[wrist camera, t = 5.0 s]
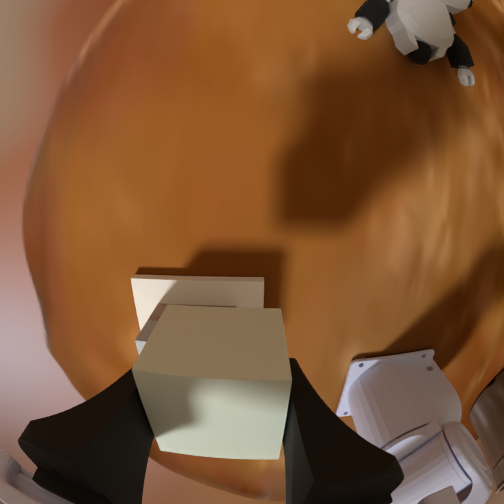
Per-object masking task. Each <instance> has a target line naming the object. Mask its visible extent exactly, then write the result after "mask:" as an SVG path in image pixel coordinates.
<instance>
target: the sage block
mask: <svg viewBox="0 0 504 504" xmlns="http://www.w3.org/2000/svg"><path fill="white" fill-rule="evenodd" d="M132 372H133V376H134V379H135V382H136V385H137V388H138V391H139V394H140V397H141V400H142V403H143V406H144V409H145V412H146V415H147V417H148V420H149V423H150V425H151V428H152V430H153V433H154V435H155V438H156V440H157V443H158V445H159V447H160V450H162V451H168V452H174V453H181V454H188V455H196V456H205V457H217V458H232V459H279V455H280V449H281V444H282V439H283V433H284V428H285V422H286V416H287V410H288V404H289V397H290V391H291V384H292V376H291V369H290V363H289V356H288V349H287V343H286V336H285V330H284V323H283V317H282V311H281V308H233V307H207V306H187V305H170V304H167V306H166V308H165V310H164V311H163V313H162V315H161V317H160V318H159V320H158V322H157V324H156V326H155V327H154V329H153V331H152V333H151V335H150V336H149V338H148V340H147V342H146V344H145V345H144V347H143V349H142V351H141V353H140V355H139V357H138V358H137V360H136V362H135V364H134V366H133V368H132Z"/></svg>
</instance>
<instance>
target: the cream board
mask: <svg viewBox="0 0 504 504" xmlns="http://www.w3.org/2000/svg"><path fill="white" fill-rule="evenodd" d="M131 283H132V289H133V294H134V300H135V305H136V311H137V316H138V321H139V325H140V330H142V328H143V327H144V325H145V323H146V322H147V320H148V319H149V317H150V315H151V314H152V312H153V311H154V309H155V307H156V306H157V304H158V303H162V304H182V305H207V306H236V308H264V277H212V276H169V275H139V274H135V275H134V276H133V277H132V278H131Z"/></svg>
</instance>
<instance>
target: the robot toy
mask: <svg viewBox="0 0 504 504" xmlns="http://www.w3.org/2000/svg"><path fill="white" fill-rule="evenodd" d="M472 3H474V0H367V1H365V3H364V4H363V5H362V6H361V7H360V8H359V9H358V10H357V12H356V13H355V17H354V18H353V19H350V21H349V23H348V25H347V26H348V29H349V31H350V32H351V33H352V34H353V33H354V32H355V30H356V28H358V29H359V30H361V31H362V32H361V33H360V34H358V36H357V37H358V38H359V39H368V38H370V37H371V36H372V35H373V30H377V29H378V28H379V27H380V26H381V24H382V23H383V22H384V21H385V23H386V26H387V29H388V30H389V32H390V33H391V34H392V37H393V40H394V43H395V47H396V48H397V49H398V50H399V51H400V52H401V53H402V54H403V55H406V54H408V56H409V58H410V59H411V60H412V61H413V62H414V63H416V64H419V65H424V64H426V63H428V62H430V61H433V60H436V59H439V58H442V57H444V55H445V52H446V53H447V56H448V59H449V62H450V65H451V67H452V68H457V78H458V80H459V82H460V84H461V85H463V86H473V85H474V84H475V79H474V75H473V73H472V72H471V70H470V69H469V68H468V67H472V66H474V64H473V60H472V57H471V54H470V51H469V49H468V46H467V45H466V44H465V43H464V42H463V41H462V40H461V39H460V38H459V37H458V36H457V35H456V33H455V31H454V28H453V26H454V25H455V24H456V23H455V20H454V18H453V16H452V14H457V13H459V12H461V11H463V10H466V9H467V8H469V7H471V6H472Z"/></svg>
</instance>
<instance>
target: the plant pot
mask: <svg viewBox="0 0 504 504" xmlns="http://www.w3.org/2000/svg"><path fill="white" fill-rule="evenodd" d="M470 420H471V422H472V424H473V426H474V428H475V430H476V432H477V434H478V436H479V438H480V440H481V443H482V445H483V447H484V449H485V452H486V454H487V456H488V458H489V461H490V464H491V466H492V469H493V471H492V475H493V477H494V480H495V483H496V486H497V489H496V493H499V492H501V491H503V490H504V370H503V371H502V372H501V373H500V374H499V375H498V376H496V378H495V381H494V383H493V384H492V385H490V386H488V387H486V388H485V389H484V391H483V392H482V393H481V395H480V396H479V397H478V399H477V400H476V402H475V403H474V405H473V407H472V409H471V411H470Z"/></svg>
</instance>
